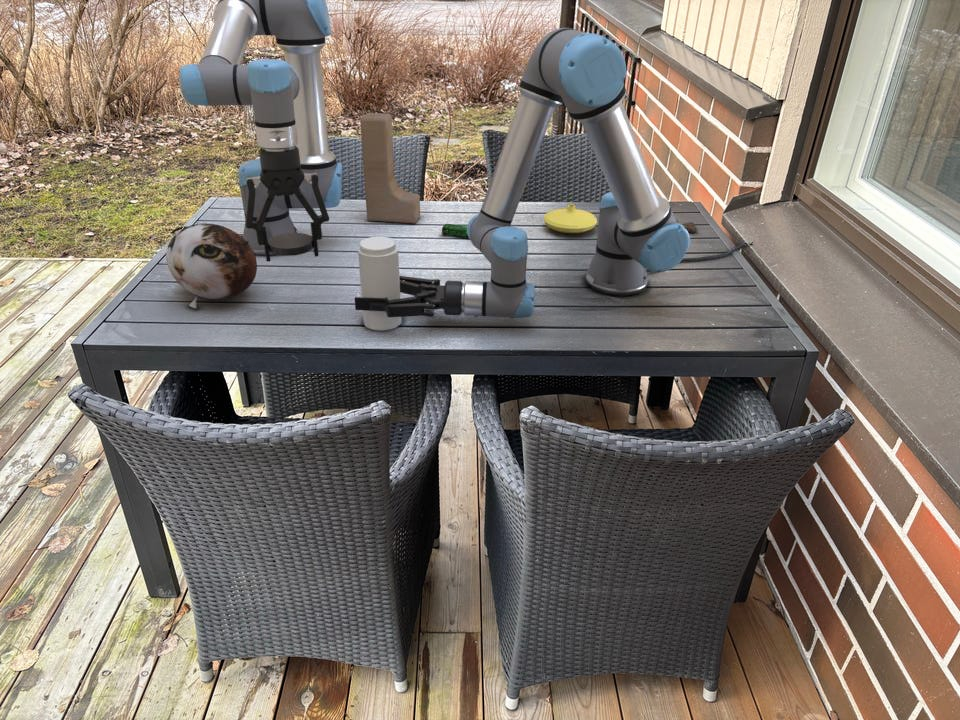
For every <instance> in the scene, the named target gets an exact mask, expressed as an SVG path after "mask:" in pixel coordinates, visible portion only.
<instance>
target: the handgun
mask: <svg viewBox="0 0 960 720" xmlns="http://www.w3.org/2000/svg"><path fill="white" fill-rule="evenodd" d="M467 226H468V225H459V224H453V223H445V224H443V226H442V227H441V235H446V236H454V237H462V238H469V237H468V233H467Z"/></svg>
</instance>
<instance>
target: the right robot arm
mask: <svg viewBox="0 0 960 720" xmlns="http://www.w3.org/2000/svg"><path fill="white" fill-rule="evenodd" d="M626 63H627V62H626V59H625V56H624V54H623V52H622V51H621V49H620V48H619V46H618V45H617V44H615V42H613V41H611V40H610V39H608V38H607V37H605V36H603V35H601V34H597V33H589V32H586V31H582V30H577V29H575V28H571V27H561V28H556V29H554V30H551V31H550V32H548V33H546V34H545V35H544V36H543V37H542V38H541V39H540V40H539V41H538V43H537V44H536V46H535V47H534V49H533V51H532V52H531V55H530V56H529V59H528V61H527V64H526V66H525V68H524V71H523V73H522V76H521V79H520V82H519V85H518V90H519V93H520V97H519V100H518V103H517V106H516V108H515V111H514V114H513V117H512V119H511V123H510V126H509V127H508V128H509V129H508V131H507V133H506V136H505V139H504V142H503V145H502V148H501V150H500V153H499V157H498V159H497V161H496V165H495V168H494V170H493V173H492V177H491V179H490V182H489V185H488V187H487V191H486V192H485V193H486V194H485V196H484V199H483V202H482V205H481V207H480V211H479V213H477V214H475V215H474V216H473V217H471V219H470V220H469V221H468V224H467V225H466V226H467V233H468V237H467V238H468V239H469V240H470V242H471V243H472V245H473V246H474V247H475V248H476V249H477V250H478V251H479V252H480V253H481V254H482V256H483V257H484V258H485V259H486V260H487V261H488V263H490V281H477V280H465V282H464V283H463V281H462V280H446V281H445V283H444V286H442V285H441V280H440V278H439V279H438V278H434V279H433V278H432V279H431V278H430V279H429V278H422V277H421V278H420V277H413V276H405V275H399V277H400V294H404V295H405V294H406V295H410V296H408V297H402V298H401V297H400V298H401V299H394V300H388V299H387V298H364V297H362V296H361V297H359V296H355V297H354V308H355V311H363V310H366V311H385V312H386V313H387V317H401V318H405V317H406V318H407V317H434V316H435V311H436V310H443V313H444V314H445V315H446V316H457V317H458V316H461V315H462V313H463V315H464V316H465V317H467V316H468V317H470V316H471V317H474V318H478V317H488V318H489V317H491V318H508V319H509V318H510V319H524V318H526V319H527V318H531V317H532V316H533V314H534V310H535V309H534V308H535V285H534V283H529V282H527V263H528V252H529V245H528V243H529V242H528V241H529V240H528V233H527V232H526V231H525V230H524V229H522V228H519V227H517V226H512V223H513V220H514V217H515V214H516V212H517V209H518V207H519V204H520V201H521V199H522V197H523V194H524V191H525V188H526V186H527V183H528V180H529V177H530V176H531V173H532V170H533V167H534V165H535V162H536V159H537V157H538V154H539V151H540V149H541V146H542V143H543V141H544V138H545V135H546V134H547V130H548V127H549V125H550V123H551V120H552V117H553V114H554V112H555V109H556V108H558V107H560V106H561V105H563V104H564V106H565V108H566V111H567V113H568V115H569V117H570V119H571V120H572V121H576V122H579V123H581V125H582V128H583V130H584V132H585V134H586V136H587V139H588V141H589V144H590V146H591V148H592V151H593V153H594V155H595V158H596V160H597V162H598V165H599V167H600V169H601V172H602V174H603V176H604V179H605V181H606V183H607V185H608V188H609V190H610V191H609V192H606V193H604V194H603V196H601V199H600V204H599V207H598V208H599V209H598V210H599V214H598V222H597V224H598V226H597V236H596V244H595V251H594V254H593V257H592V259H591V261H590V263H589V266H588V268H587V269H586V273H585V284H586V285H587V286H588V287H589V288H590V289H591V290H594V291H595V292H598V293H601V294H605V295H611V296H619V297H621V296H623V297H625V296H633V295H637V294H641V293H642V292H644V291H645V290H646V289H647V288H648V281H649V277H648V273H664V272H668V271H670V270H672V269H673V268H674V267H676V266H678V264H680V263H682V262H683V263H684V262H699V261H706V260H707V261H708V260H715V259H719V258H724V257H726V256H729V255H730V254H732V253H733V252H735V251H736V250H738V249H740V248H742V247H743V246H745V245H746V244H743V242H740V243H739V244H737V245H736V246H734V247H735V248H734V247H732V248H731V249H732V250H731V249H730V250H731V251H730V250H728V251H729V252H728V251H726V252H727V253H726V252H724V253H725V254H724V253H719V254H715V255H708V256H707V255H706V256H701V257H686V253H687V252H688V251H689V247H690V243H691V237H690V232H688V231H687V230H686V228H684V226H683V225H682V223H679V222H678V223H677V222H676V218H675V216H674V212H673V210H672V208H671V205H670V202H669V200H668V199H667V198H665V197H662V196H659V195H658V191H657V189H656V187H655V184H654V182H653V178H652V176H651V174H650V171H649V169H648V166H647V163H646V161H645V158H644V155H643V153H642V151H641V147H640V145H639V142H638V140H637V138H636V135H635V132H634V129H633V128H632V127H633V126H632V124H631V121H630V119H629V117H628V114H627V111H626V109H625V106H624V104H623V101H624V99H625V97H626V95H627V89H626V85H625V78H627V64H626ZM733 248H734V249H733ZM685 257H686V258H685Z"/></svg>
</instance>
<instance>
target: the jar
mask: <svg viewBox="0 0 960 720" xmlns="http://www.w3.org/2000/svg"><path fill="white" fill-rule="evenodd" d="M396 243H397V242H396V240H394V238H392V237H388V236H371V237H366V238H363V239H362V240H361V241H360V242H359V244H358V245H359V246H358V248H357V257H358V266H359V267H358V268H359V269H358V270H359V280H360V281H359V283H360V294H361V295H360V296H361V297H364V298H387V299H388V300H394V299H401V292H400V277H399V276H400V259H399V246H397V245H396ZM362 320H363V325H364V326H365V327H366V328H367V329H370V330H373V331H388V330H392V329H395V328H398V327H399V326H400V325H401V324H402V321H403V319H402V317H387V313H386V312H385V311H366V310H362Z"/></svg>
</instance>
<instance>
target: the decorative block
mask: <svg viewBox="0 0 960 720" xmlns="http://www.w3.org/2000/svg"><path fill="white" fill-rule="evenodd" d="M359 124H360V137H361V151H362V164H363V165H362V166H363V180H364V194H365V209H366V219H367V221H371V222H388V223H403V224H415V223H416V222H417V221H418V219H419V218H420V216H421V195H420V194H418V193H414V192H410V191H405V190H404V189H403V188H401V187H400V186H399V183H398V181H397V179H396V177H395V176H396V175H395V161H394V158H395V157H394V138H393V137H394V136H393V135H394V134H393V116H392V114H390V113H379V112H367V113H365V114H364V115H363V116H361V117H360V119H359Z"/></svg>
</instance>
